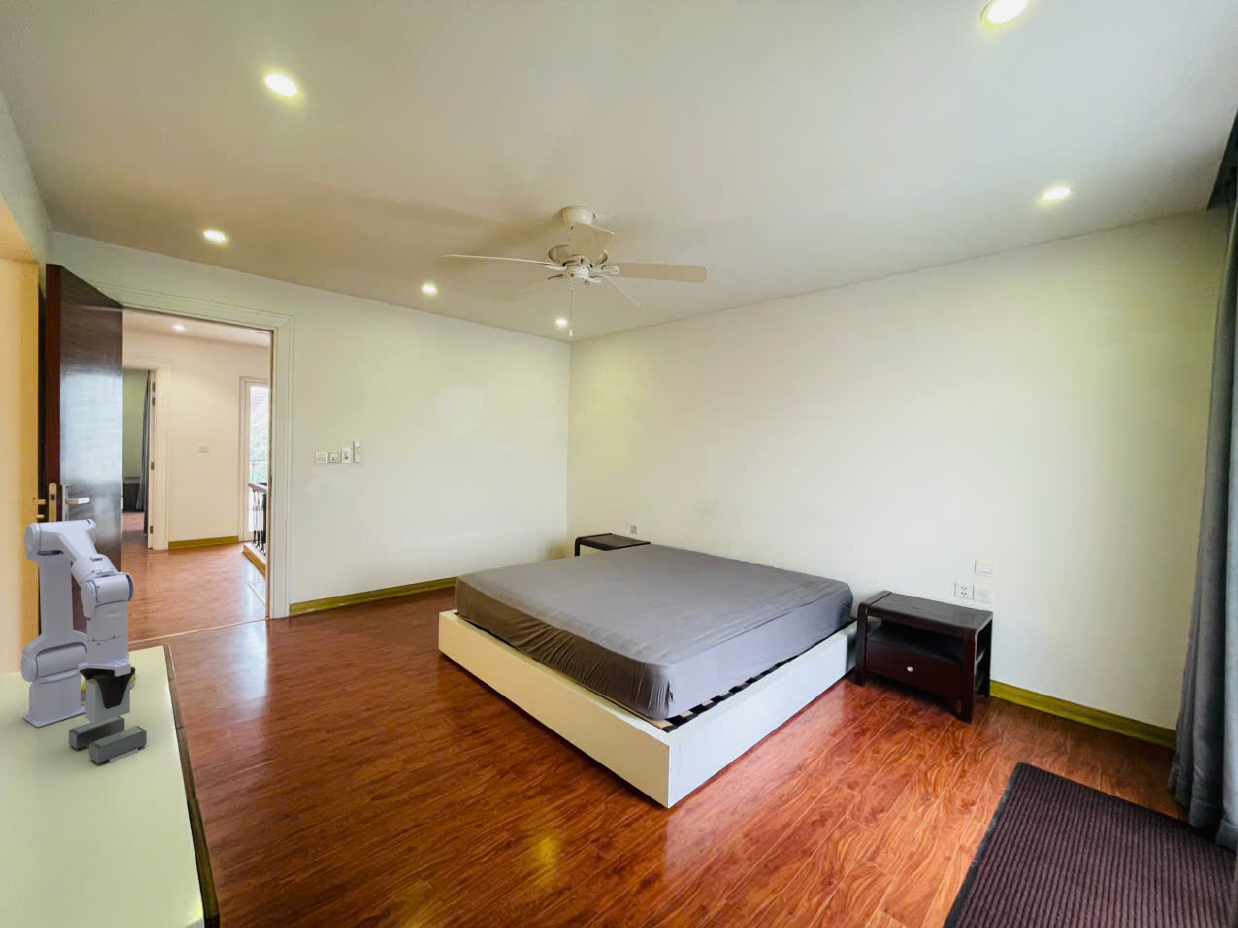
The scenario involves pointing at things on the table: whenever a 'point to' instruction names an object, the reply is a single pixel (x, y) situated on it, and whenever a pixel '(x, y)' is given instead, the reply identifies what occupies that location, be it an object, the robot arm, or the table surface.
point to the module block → (96, 706)
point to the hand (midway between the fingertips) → (107, 703)
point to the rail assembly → (108, 739)
